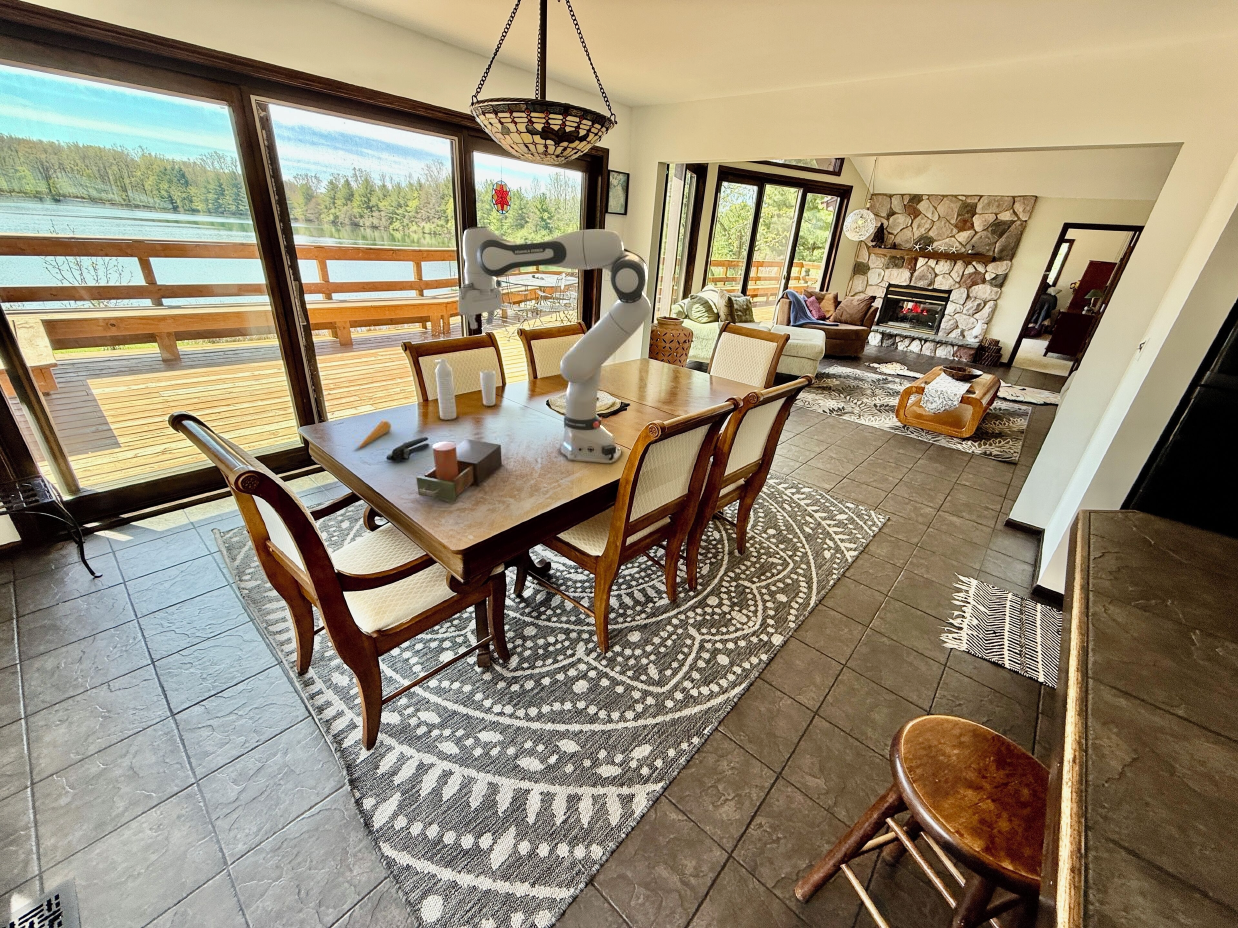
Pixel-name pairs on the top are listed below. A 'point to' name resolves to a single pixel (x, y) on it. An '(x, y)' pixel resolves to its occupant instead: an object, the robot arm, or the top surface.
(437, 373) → the water bottle
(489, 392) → the drinking glass
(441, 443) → the terracotta cylinder
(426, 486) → the drawer
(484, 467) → the cabinet
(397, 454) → the can opener
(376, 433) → the carrot
